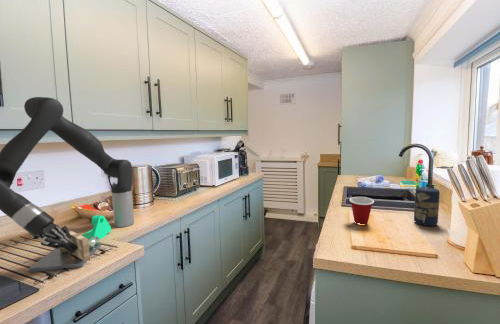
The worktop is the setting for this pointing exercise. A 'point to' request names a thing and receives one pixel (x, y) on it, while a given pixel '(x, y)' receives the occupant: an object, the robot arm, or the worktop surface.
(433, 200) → the canister
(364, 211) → the plastic cup
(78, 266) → the levelling base
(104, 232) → the camera mount
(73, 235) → the zigzag patterned block
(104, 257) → the worktop surface
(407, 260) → the worktop surface
